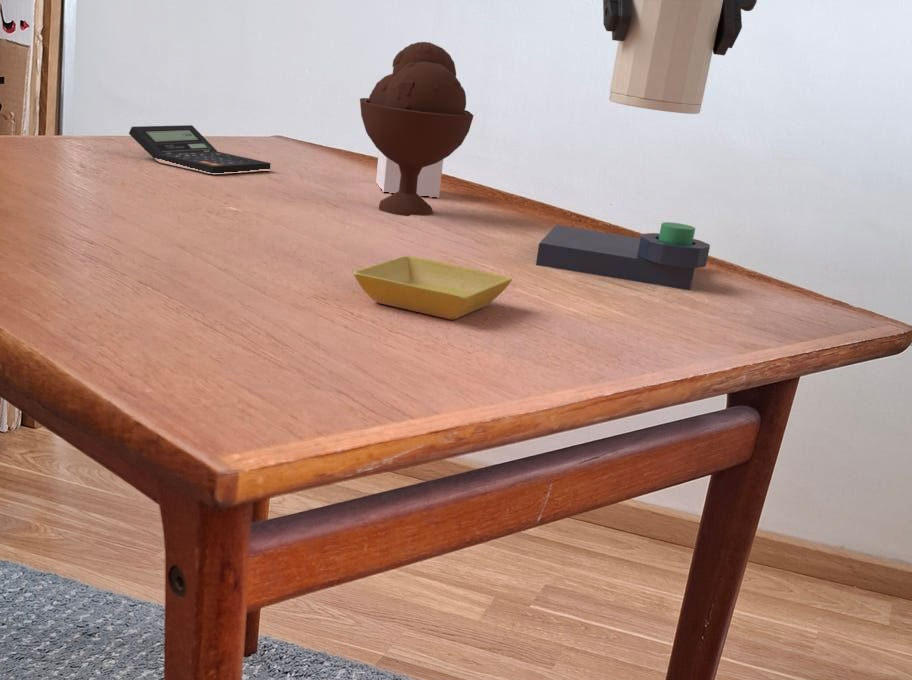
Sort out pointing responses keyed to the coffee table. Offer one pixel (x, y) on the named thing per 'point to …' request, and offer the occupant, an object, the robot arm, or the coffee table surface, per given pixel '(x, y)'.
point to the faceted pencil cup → (666, 55)
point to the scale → (622, 256)
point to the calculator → (190, 149)
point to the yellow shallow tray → (430, 286)
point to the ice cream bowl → (416, 119)
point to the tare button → (676, 233)
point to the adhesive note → (391, 177)
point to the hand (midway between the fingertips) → (673, 38)
